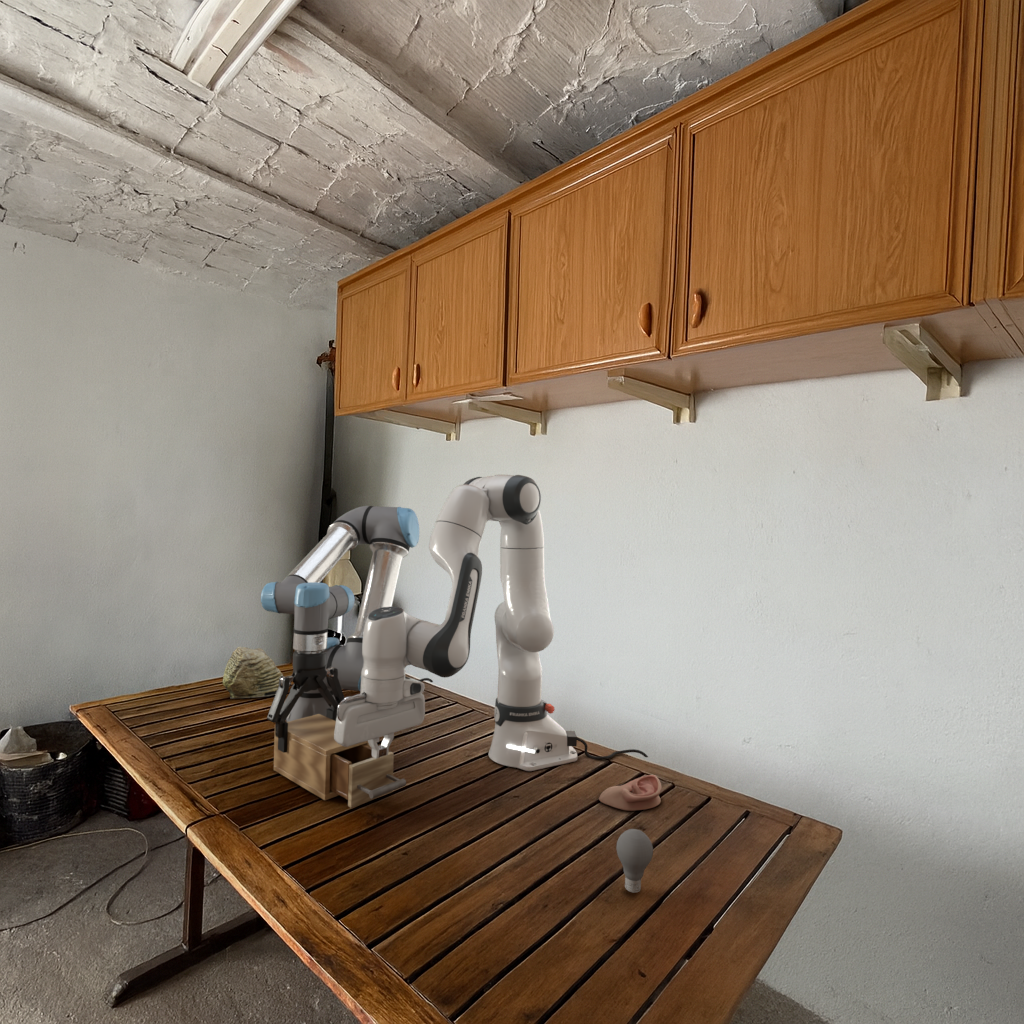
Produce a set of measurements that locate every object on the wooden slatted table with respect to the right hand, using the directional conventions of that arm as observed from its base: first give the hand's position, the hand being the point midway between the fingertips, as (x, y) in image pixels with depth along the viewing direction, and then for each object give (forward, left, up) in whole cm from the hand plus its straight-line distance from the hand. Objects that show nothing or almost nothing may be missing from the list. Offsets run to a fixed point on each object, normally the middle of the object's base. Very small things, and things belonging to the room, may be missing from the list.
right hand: (380, 756), depth 129 cm
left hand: (+13, -24, -6) cm, 28 cm away
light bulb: (-37, +38, -11) cm, 54 cm away
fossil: (+26, -84, -11) cm, 88 cm away
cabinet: (+10, -19, -11) cm, 24 cm away
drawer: (+4, -8, -10) cm, 13 cm away
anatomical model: (-53, +9, -11) cm, 55 cm away
